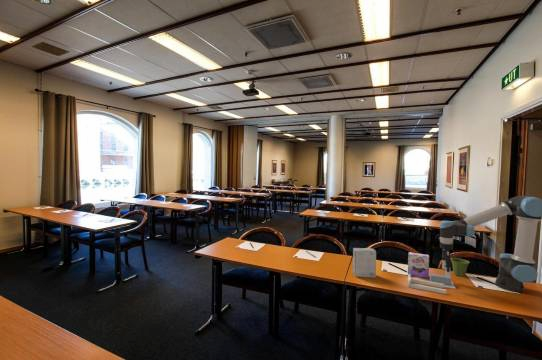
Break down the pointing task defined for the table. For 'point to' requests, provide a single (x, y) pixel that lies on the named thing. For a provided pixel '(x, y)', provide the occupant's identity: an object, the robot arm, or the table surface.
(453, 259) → the plant pot
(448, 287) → the mat
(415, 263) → the candy box
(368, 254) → the hard drive box
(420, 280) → the shelf bay
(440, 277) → the blank
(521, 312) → the table surface
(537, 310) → the table surface
